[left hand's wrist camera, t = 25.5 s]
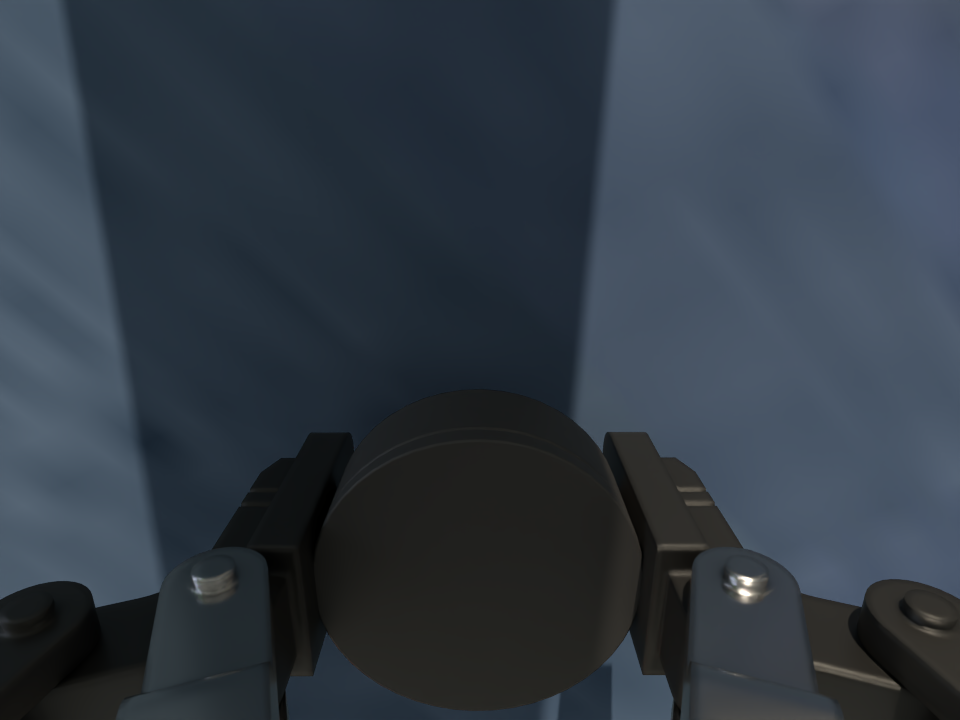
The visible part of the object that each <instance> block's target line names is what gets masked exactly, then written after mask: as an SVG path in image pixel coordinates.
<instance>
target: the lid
mask: <svg viewBox="0 0 960 720" xmlns="http://www.w3.org/2000/svg"><path fill="white" fill-rule="evenodd" d="M313 565H314V575H315V584H316V593H317V602H318V610H319V616H320V619H321V621H322V623H323V625H324V627H325V629H326V631H327V633H328V634H329V636H330V637H331V639H332V640H333V642H334V643H335V645H336V646H337V648H338V649H339V650H340V651H341V652H342V653H343V655H344V656H345V657H346V658H347V659H348V660H349V661H350V662H351V663H352V664H353V665H354V666H355V667H356V668H358V669H359V670H360V671H361V672H362V673H363V674H365V675H366V676H368V677H369V678H371V679H372V680H374V681H375V682H377V683H378V684H379V685H381V686H383V687H385V688H387V689H389V690H391V691H393V692H395V693H397V694H399V695H401V696H404V697H407V698H409V699H412V700H414V701H417V702H421V703H425V704H428V705H432V706H437V707H442V708H448V709H455V710H469V711H484V710H499V709H507V708H514V707H518V706H523V705H527V704H532V703H535V702H538V701H540V700H543V699H546V698H549V697H552V696H554V695H556V694H558V693H560V692H563V691H565V690H567V689H569V688H570V687H572V686H574V685H575V684H577V683H579V682H580V681H582V680H584V679H585V678H586V677H588V676H589V675H590V674H592V673H593V672H594V671H595V670H597V669H598V668H599V667H600V666H601V665H602V664H603V663H604V662H605V661H606V660H607V659H608V658H609V657H610V656H611V655H612V654H613V653H614V652H615V650H616V649H617V648H618V646H619V645H620V644H621V643H622V641H623V640H624V638H625V636H626V635H627V633H628V631H629V629H630V628H631V626H632V624H633V621H634V619H635V616H636V614H637V610H638V602H639V593H640V584H641V575H642V552H641V549H640V545H639V541H638V537H637V534H636V532H635V529H634V527H633V524H632V522H631V519H630V517H629V514H628V511H627V509H626V506H625V504H624V501H623V499H622V496H621V494H620V491H619V488H618V486H617V483H616V481H615V478H614V476H613V473H612V471H611V469H610V467H609V464H608V462H607V460H606V458H605V457H604V455H603V454H602V452H601V450H600V449H599V447H598V446H597V444H596V443H595V442H594V441H593V440H592V439H591V437H590V436H589V435H588V434H587V433H586V432H585V431H584V430H583V429H582V428H581V427H580V426H578V425H577V424H576V423H575V422H574V421H573V420H571V419H570V418H568V417H567V416H565V415H564V414H562V413H561V412H559V411H558V410H556V409H554V408H552V407H550V406H548V405H546V404H544V403H542V402H540V401H537V400H534V399H531V398H528V397H525V396H522V395H518V394H513V393H509V392H504V391H495V390H484V389H478V390H459V391H453V392H447V393H441V394H438V395H434V396H431V397H427V398H424V399H421V400H419V401H417V402H414V403H412V404H410V405H407V406H405V407H404V408H402V409H400V410H398V411H397V412H395V413H393V414H392V415H390V416H389V417H387V418H386V419H385V420H383V421H382V422H381V423H380V424H378V425H377V426H376V427H375V428H374V429H373V430H372V431H371V432H370V433H369V434H368V435H367V436H366V437H365V438H364V439H363V440H362V442H361V443H360V444H359V446H358V447H357V449H356V450H355V451H354V453H353V454H352V456H351V458H350V460H349V462H348V464H347V466H346V468H345V470H344V472H343V475H342V477H341V480H340V482H339V485H338V487H337V490H336V492H335V495H334V497H333V500H332V502H331V505H330V507H329V510H328V513H327V515H326V518H325V520H324V523H323V525H322V528H321V530H320V533H319V536H318V539H317V542H316V545H315V549H314V555H313Z"/></svg>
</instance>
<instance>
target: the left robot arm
mask: <svg viewBox="0 0 960 720" xmlns="http://www.w3.org/2000/svg"><path fill="white" fill-rule="evenodd" d="M353 453H354V447H353V439H352V436H351V434H350V433H310V434H309V435H308V437H307V439H306V441H305V443H304V444H303V446H302V448H301V450H300V451H299V453H298V455H297V457H296V458H281V459H279V460H278V461H276V462H275V463H274V464H272V465H271V466H269V467H268V468H267V469H265V470H264V471H262V472H261V473H260V475H259V476H258V478H257V480H256V481H255V483H254V484H253V486H252V487H251V489H250V493H248V494H247V495H246V497H245V498H244V500H243V501H242V503H241V504H242V505H241V507H239V508H238V509H237V511H236V512H235V514H234V516H233V517H232V519H231V520H230V522H229V523H228V525H227V527H226V528H225V530H224V531H223V533H222V534H221V536H220V538H219V539H218V541H217V542H216V544H215V545H214V547H213V549H212V550H209V551H206V552H203V553H200V554H198V555H195V556H193V557H191V558H189V559H187V560H186V561H184V562H182V563H181V564H179V565H178V566H177V567H175V568H174V569H173V570H172V571H171V572H170V573H169V574H168V575H167V577H166V578H165V579H164V581H163V583H162V585H161V588H160V592H159V593H156V594H153V595H150V596H146V597H142V598H138V599H134V600H129V601H125V602H120V603H115V604H111V605H106V606H102V607H97V608H95V604H94V600H93V597H92V594H91V591H90V590H89V589H88V588H87V587H86V586H84V585H82V584H80V583H76V582H70V581H56V582H48V583H43V584H38V585H35V586H32V587H28V588H25V589H23V590H20V591H17V592H15V593H13V594H11V595H9V596H6V597H5V598H3V599H1V600H0V720H289V711H288V704H287V697H286V690H285V689H286V686H287V683H288V680H289V678H290V676H313V674H314V671H315V668H316V664H317V661H318V658H319V654H320V651H321V648H322V645H323V641H324V638H325V635H326V629H325V627H324V625H323V623H322V621H321V619H320V616H319V610H318V602H317V593H316V584H315V575H314V565H313V555H314V549H315V545H316V542H317V539H318V536H319V533H320V530H321V528H322V525H323V523H324V520H325V518H326V515H327V513H328V510H329V507H330V505H331V502H332V500H333V497H334V495H335V492H336V490H337V487H338V485H339V482H340V480H341V477H342V475H343V472H344V470H345V468H346V466H347V464H348V462H349V460H350V458H351V456H352V454H353ZM603 455H604V457H605V458H606V460H607V462H608V464H609V467H610V469H611V471H612V473H613V476H614V478H615V481H616V483H617V486H618V488H619V491H620V494H621V496H622V499H623V501H624V504H625V506H626V509H627V511H628V514H629V517H630V519H631V522H632V524H633V527H634V529H635V532H636V534H637V537H638V541H639V545H640V549H641V552H642V575H641V584H640V593H639V602H638V610H637V614H636V616H635V619H634V621H633V624H632V626H631V628H630V629H629V630H630V634H631V637H632V640H633V644H634V647H635V650H636V654H637V657H638V660H639V664H640V667H641V671H642V674H643V675H666V678H667V681H668V684H669V687H670V690H671V693H672V696H673V704H672V711H671V720H960V599H958V598H956V597H954V596H953V595H951V594H949V593H946V592H944V591H942V590H940V589H937V588H934V587H932V586H929V585H925V584H922V583H918V582H914V581H909V580H900V579H889V580H882V581H879V582H876V583H874V584H872V585H871V586H870V587H869V588H868V589H867V591H866V594H865V597H864V601H863V605H862V607H858V606H854V605H849V604H844V603H840V602H835V601H831V600H826V599H821V598H817V597H813V596H809V595H805V594H802V593H800V588H799V585H798V583H797V581H796V580H795V578H794V577H793V575H792V574H791V573H790V572H789V571H788V570H787V569H786V568H785V567H783V566H782V565H780V564H779V563H778V562H776V561H774V560H773V559H771V558H769V557H767V556H765V555H762V554H760V553H757V552H754V551H751V550H747V549H743V547H742V545H741V544H740V542H739V541H738V539H737V537H736V536H735V534H734V533H733V531H732V529H731V528H730V526H729V525H728V523H727V522H726V520H725V518H724V517H723V515H722V514H721V512H720V510H719V509H718V507H717V506H715V504H714V503H715V502H714V501H713V499H712V498H711V496H710V494H709V493H708V492H706V488H705V486H704V485H703V483H702V482H701V480H700V479H699V477H698V475H697V474H696V472H695V471H693V470H692V469H691V468H689V467H688V466H686V465H685V464H684V463H682V462H681V461H679V460H678V459H677V458H660V456H659V454H658V452H657V450H656V448H655V447H654V445H653V443H652V441H651V439H650V437H649V436H648V434H647V433H646V432H607V433H606V435H605V438H604V444H603Z"/></svg>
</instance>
